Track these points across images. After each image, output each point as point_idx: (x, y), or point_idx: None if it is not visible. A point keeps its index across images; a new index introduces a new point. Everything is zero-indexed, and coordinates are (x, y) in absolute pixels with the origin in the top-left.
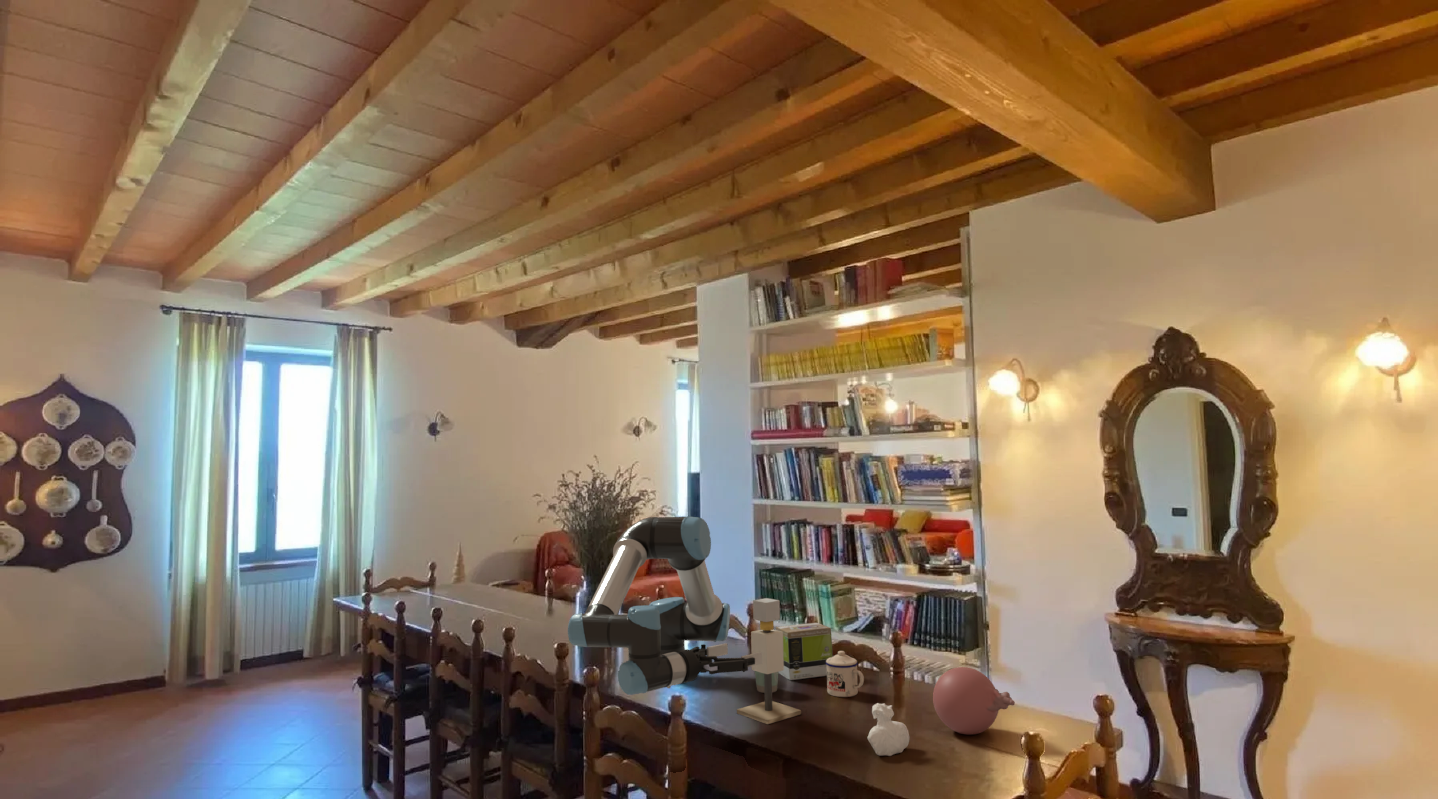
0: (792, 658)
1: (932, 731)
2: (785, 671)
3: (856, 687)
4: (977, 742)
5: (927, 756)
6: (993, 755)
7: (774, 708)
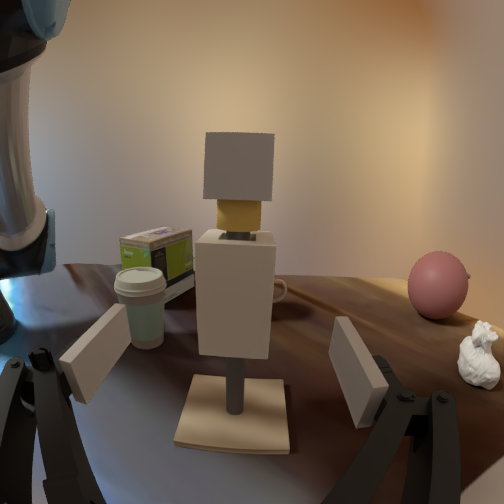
0: None
1: (421, 328)
2: None
3: (276, 301)
4: (453, 321)
5: None
6: None
7: None
